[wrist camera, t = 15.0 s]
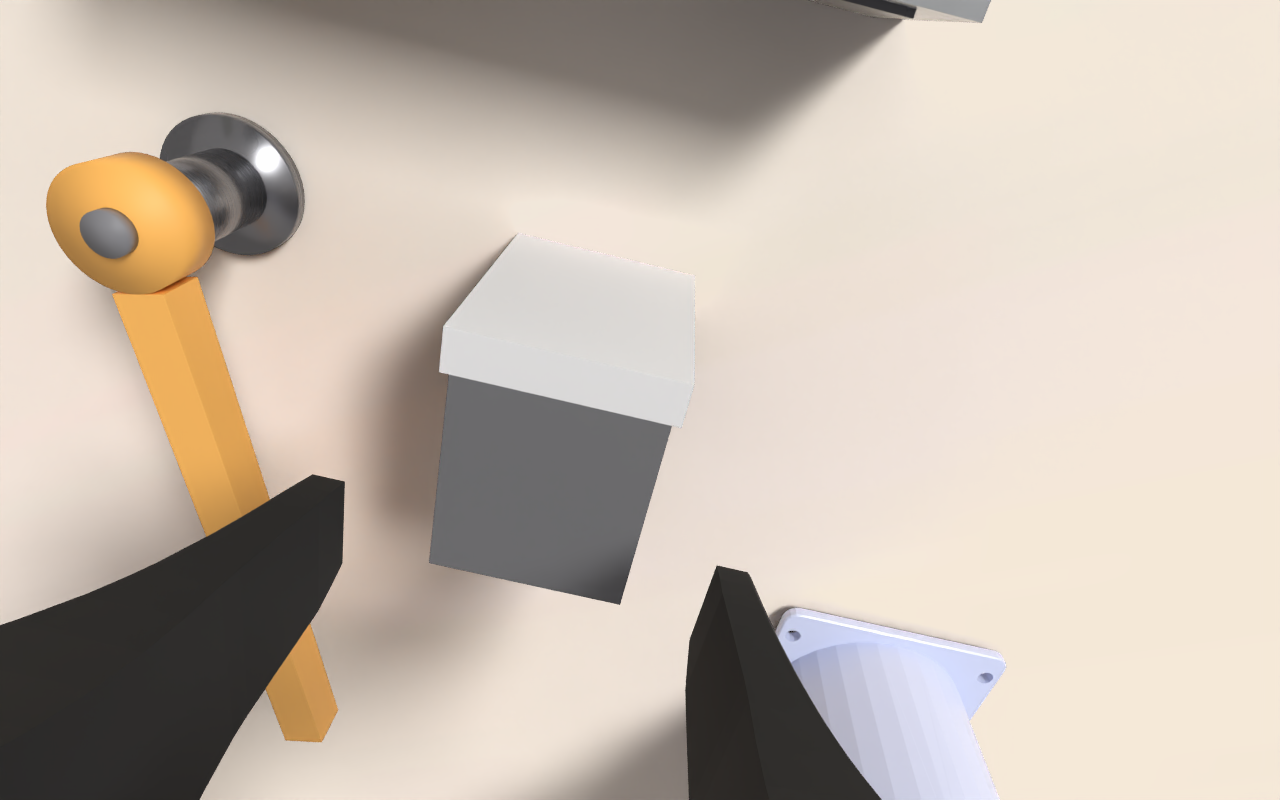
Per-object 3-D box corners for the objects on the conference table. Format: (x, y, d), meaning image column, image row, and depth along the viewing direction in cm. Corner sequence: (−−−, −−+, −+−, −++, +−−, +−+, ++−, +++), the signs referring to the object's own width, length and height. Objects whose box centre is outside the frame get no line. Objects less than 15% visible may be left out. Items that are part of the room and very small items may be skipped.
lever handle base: (304, 264, 20) (241, 305, 17) (175, 233, 20) (90, 270, 17) (304, 131, 18) (233, 153, 15) (162, 97, 18) (65, 112, 15)
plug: (627, 518, 24) (606, 680, 18) (481, 485, 23) (412, 638, 18) (695, 275, 19) (694, 384, 14) (518, 232, 19) (443, 326, 14)
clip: (280, 706, 24) (256, 747, 23) (69, 152, 16) (10, 165, 14) (361, 711, 24) (341, 752, 23) (192, 151, 15) (144, 164, 14)
